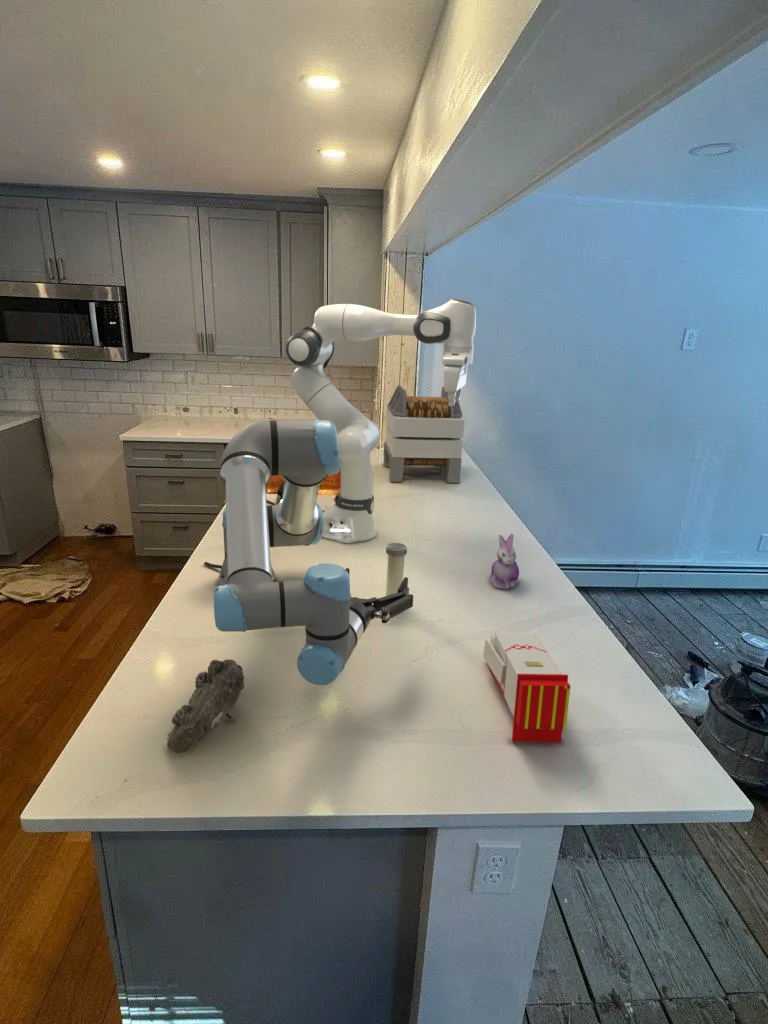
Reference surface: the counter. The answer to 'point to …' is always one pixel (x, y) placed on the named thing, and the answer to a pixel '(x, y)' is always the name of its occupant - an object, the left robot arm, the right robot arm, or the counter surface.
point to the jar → (394, 574)
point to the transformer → (423, 434)
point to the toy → (529, 686)
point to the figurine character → (280, 493)
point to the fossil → (206, 705)
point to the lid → (396, 549)
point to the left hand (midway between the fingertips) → (376, 578)
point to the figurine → (505, 565)
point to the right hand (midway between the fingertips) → (454, 403)
